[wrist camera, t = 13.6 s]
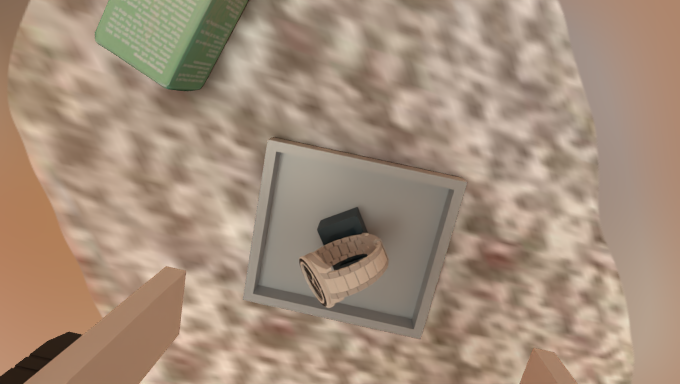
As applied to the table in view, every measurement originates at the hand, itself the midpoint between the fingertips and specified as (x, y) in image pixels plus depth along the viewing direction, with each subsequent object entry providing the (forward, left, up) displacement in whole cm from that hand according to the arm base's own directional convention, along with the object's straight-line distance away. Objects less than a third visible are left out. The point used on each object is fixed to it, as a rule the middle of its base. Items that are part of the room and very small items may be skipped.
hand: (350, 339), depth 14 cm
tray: (-6, 0, -27) cm, 27 cm away
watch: (-6, 0, -26) cm, 27 cm away
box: (+13, +19, -27) cm, 36 cm away
